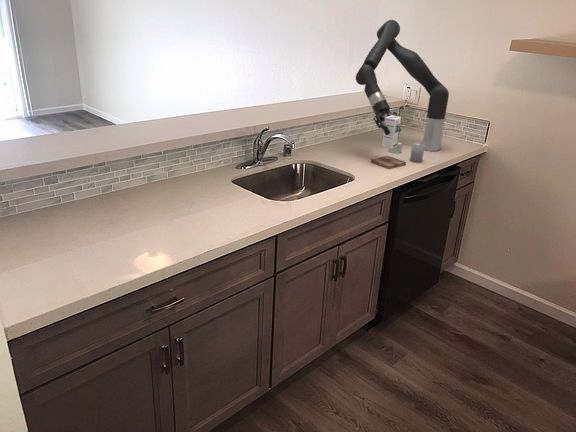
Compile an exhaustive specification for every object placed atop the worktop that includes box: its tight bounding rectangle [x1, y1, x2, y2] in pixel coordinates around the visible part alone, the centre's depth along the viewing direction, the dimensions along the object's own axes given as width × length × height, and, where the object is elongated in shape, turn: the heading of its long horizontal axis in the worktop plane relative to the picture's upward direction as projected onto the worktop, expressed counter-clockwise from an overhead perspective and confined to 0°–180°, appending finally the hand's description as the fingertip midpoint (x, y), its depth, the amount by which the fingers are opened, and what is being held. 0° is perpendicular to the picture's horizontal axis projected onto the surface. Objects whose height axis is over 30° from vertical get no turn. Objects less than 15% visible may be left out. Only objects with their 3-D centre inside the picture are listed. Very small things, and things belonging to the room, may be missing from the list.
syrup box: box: [381, 115, 402, 149], centre depth 228 cm, size 6×6×14 cm
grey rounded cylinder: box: [409, 141, 425, 164], centre depth 238 cm, size 6×6×9 cm
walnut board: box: [370, 155, 407, 170], centre depth 234 cm, size 12×12×2 cm
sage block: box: [388, 141, 403, 155], centre depth 252 cm, size 5×5×5 cm
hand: (393, 133), depth 227 cm, fingers closed on syrup box, 7 cm apart
